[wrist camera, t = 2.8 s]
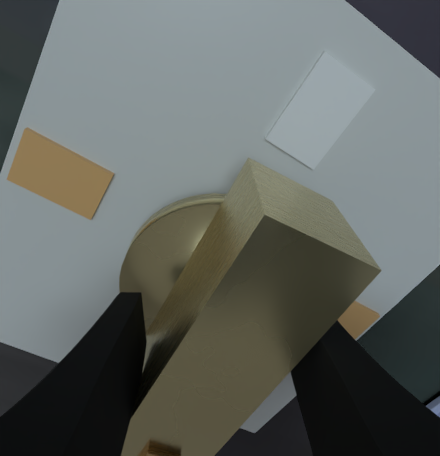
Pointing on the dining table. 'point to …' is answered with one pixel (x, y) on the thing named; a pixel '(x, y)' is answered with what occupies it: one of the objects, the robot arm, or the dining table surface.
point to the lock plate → (209, 147)
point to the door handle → (233, 304)
